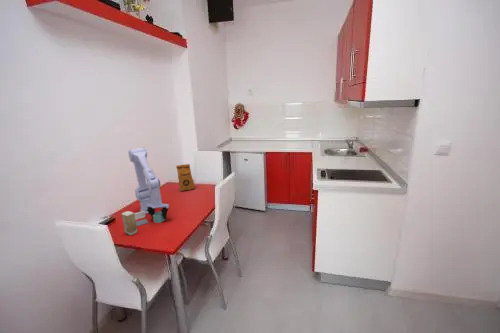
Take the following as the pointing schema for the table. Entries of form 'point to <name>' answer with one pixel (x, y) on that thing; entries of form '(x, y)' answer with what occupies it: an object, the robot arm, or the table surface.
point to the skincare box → (129, 223)
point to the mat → (141, 222)
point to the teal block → (158, 217)
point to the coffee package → (185, 177)
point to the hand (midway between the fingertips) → (159, 218)
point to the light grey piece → (139, 215)
